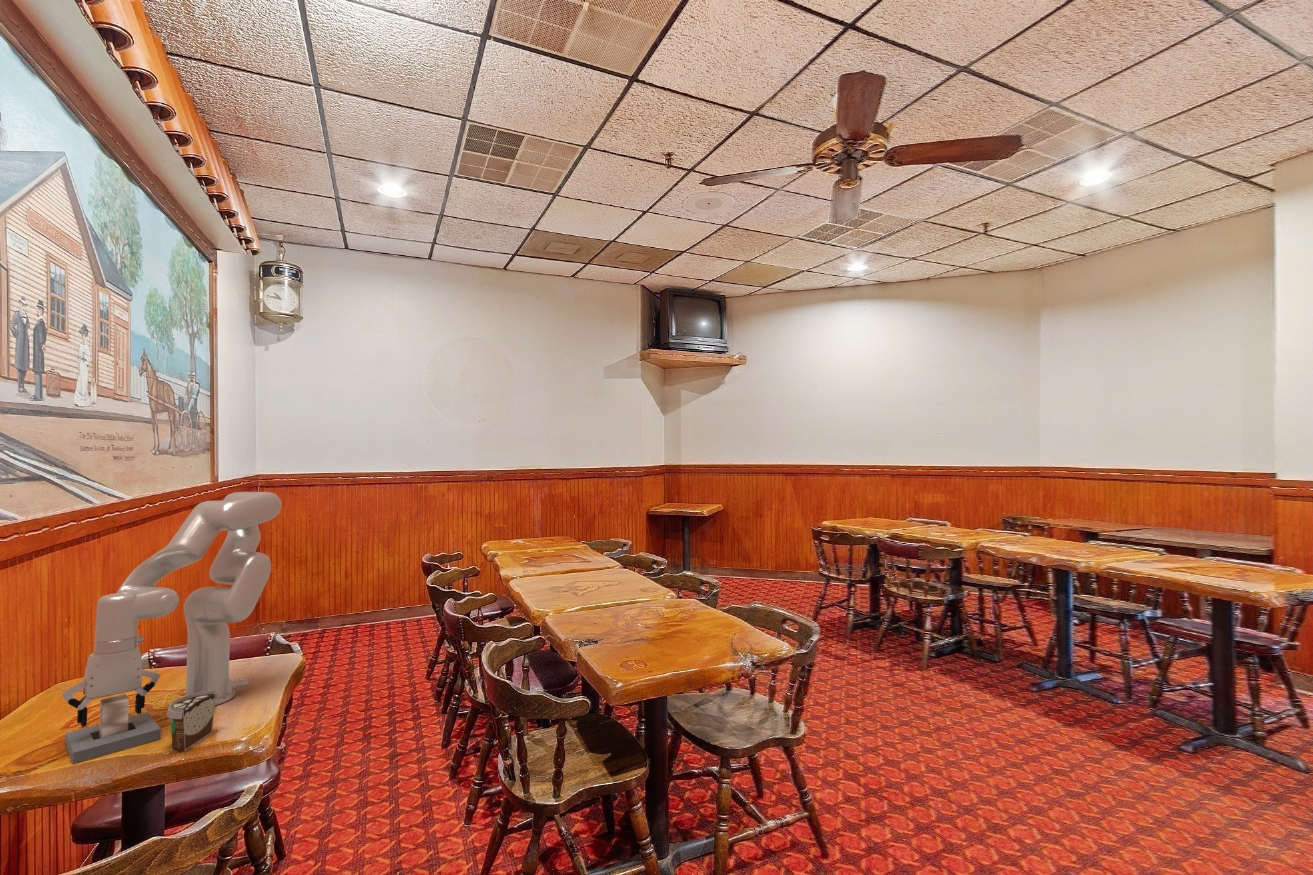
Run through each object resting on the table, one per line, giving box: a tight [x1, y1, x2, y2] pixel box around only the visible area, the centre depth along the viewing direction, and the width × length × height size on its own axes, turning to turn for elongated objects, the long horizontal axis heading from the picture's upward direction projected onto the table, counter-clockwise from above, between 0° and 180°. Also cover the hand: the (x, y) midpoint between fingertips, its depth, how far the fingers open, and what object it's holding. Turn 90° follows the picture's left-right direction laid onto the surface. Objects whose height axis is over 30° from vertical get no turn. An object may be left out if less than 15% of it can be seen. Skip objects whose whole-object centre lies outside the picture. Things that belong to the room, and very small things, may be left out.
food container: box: [166, 690, 217, 752], centre depth 139 cm, size 12×6×10 cm, turn 5°
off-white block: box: [98, 693, 130, 739], centre depth 140 cm, size 4×4×10 cm
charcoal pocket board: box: [64, 711, 162, 765], centre depth 139 cm, size 15×15×2 cm
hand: (111, 718), depth 139 cm, fingers open, 9 cm apart
